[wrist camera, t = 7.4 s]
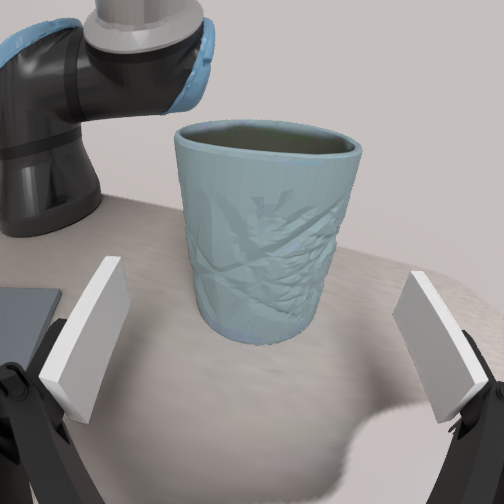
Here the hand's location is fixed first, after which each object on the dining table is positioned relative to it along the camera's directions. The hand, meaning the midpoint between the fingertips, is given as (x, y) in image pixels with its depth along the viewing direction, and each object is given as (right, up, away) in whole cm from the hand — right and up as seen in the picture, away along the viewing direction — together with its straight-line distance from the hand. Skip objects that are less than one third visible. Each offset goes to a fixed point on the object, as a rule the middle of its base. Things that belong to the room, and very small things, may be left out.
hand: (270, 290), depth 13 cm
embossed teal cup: (-1, -2, +9) cm, 9 cm away
